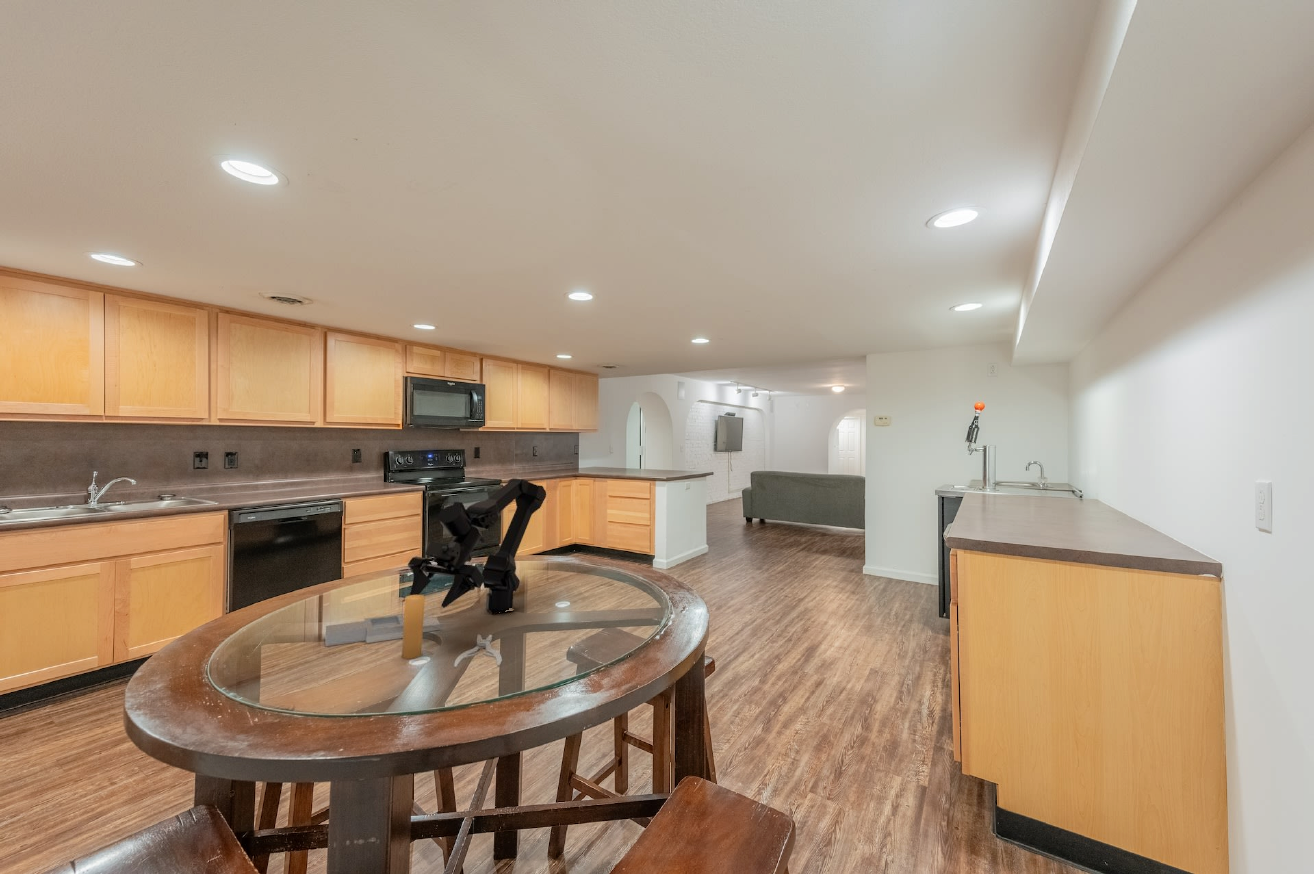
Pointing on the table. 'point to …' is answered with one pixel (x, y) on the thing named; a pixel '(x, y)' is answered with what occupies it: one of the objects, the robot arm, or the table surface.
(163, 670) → the table surface
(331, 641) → the grey peg socket block
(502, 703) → the table surface
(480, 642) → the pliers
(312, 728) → the table surface
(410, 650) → the pin
